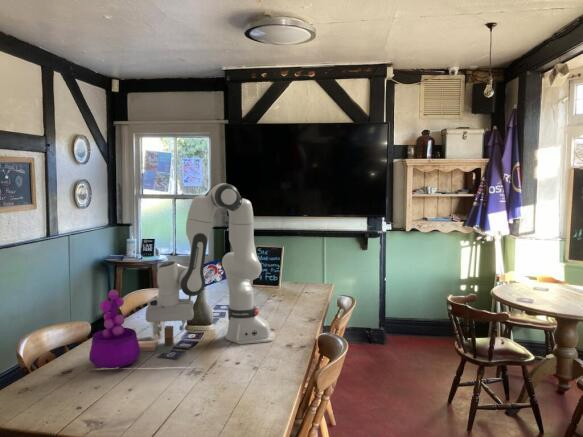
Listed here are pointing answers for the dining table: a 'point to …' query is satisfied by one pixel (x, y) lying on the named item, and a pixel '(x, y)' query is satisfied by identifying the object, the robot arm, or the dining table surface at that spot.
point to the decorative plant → (114, 338)
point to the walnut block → (168, 335)
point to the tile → (148, 345)
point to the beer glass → (155, 333)
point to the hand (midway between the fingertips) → (170, 330)
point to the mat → (159, 349)
